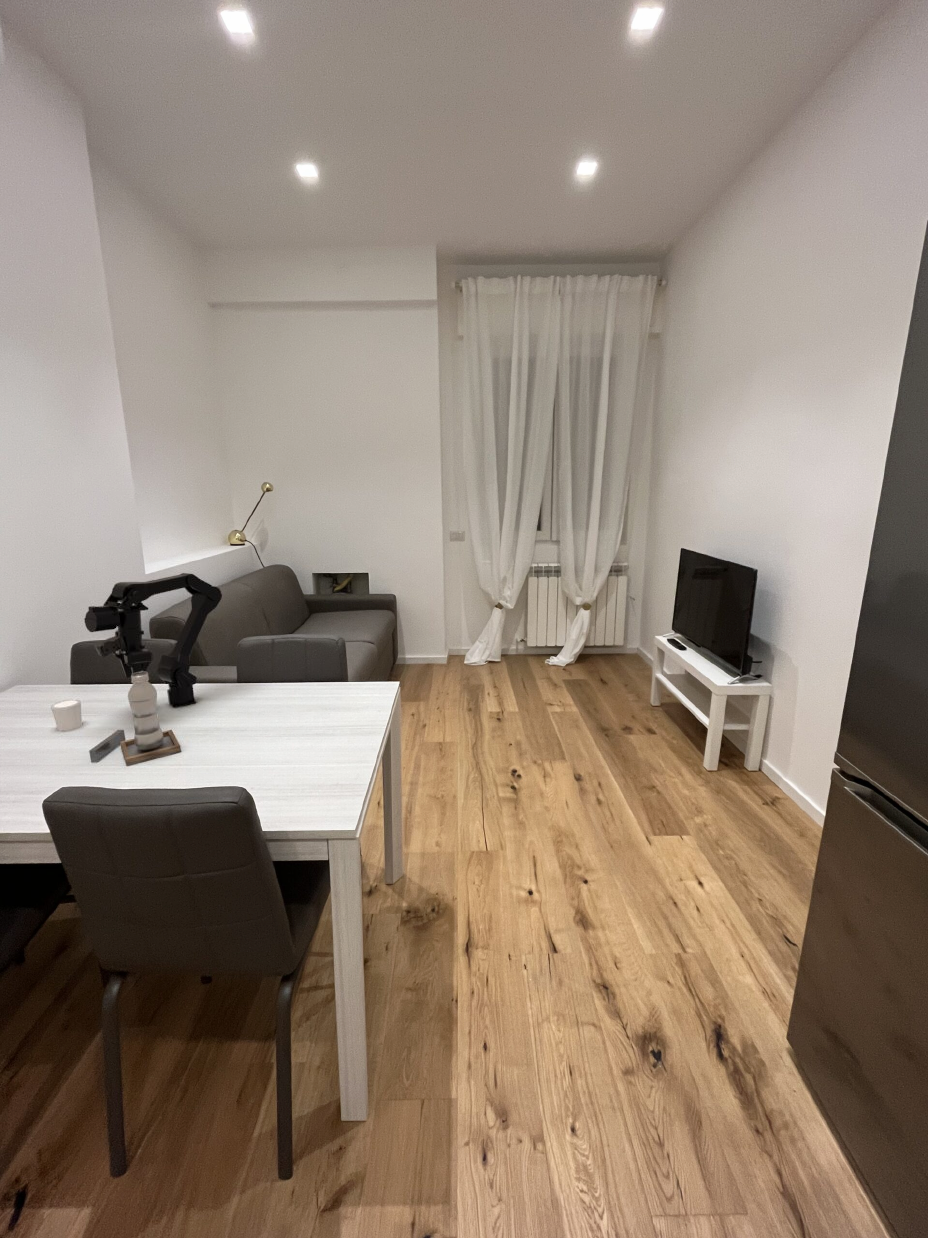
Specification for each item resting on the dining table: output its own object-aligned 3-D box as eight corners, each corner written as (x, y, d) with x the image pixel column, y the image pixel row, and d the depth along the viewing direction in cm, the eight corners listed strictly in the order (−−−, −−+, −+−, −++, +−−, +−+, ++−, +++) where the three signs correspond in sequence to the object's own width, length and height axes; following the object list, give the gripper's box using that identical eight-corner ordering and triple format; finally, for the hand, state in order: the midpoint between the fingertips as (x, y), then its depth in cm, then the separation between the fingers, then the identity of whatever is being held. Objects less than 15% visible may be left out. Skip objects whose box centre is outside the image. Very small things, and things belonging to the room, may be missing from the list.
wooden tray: (172, 735, 148) (171, 729, 148) (181, 751, 139) (180, 745, 139) (120, 747, 141) (119, 741, 141) (126, 766, 132) (125, 759, 132)
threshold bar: (119, 740, 146) (118, 729, 145) (125, 740, 146) (123, 729, 145) (91, 762, 134) (89, 750, 133) (97, 762, 134) (95, 750, 133)
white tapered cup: (69, 733, 150) (64, 709, 149) (48, 731, 152) (44, 707, 150) (90, 722, 157) (86, 700, 155) (70, 721, 158) (66, 698, 156)
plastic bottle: (168, 741, 144) (158, 668, 139) (159, 752, 137) (148, 677, 133) (141, 743, 143) (130, 670, 138) (131, 755, 136) (119, 679, 132)
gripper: (88, 625, 155) (92, 678, 157) (104, 635, 142) (108, 693, 144) (132, 621, 163) (135, 672, 165) (152, 631, 150) (154, 686, 152)
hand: (132, 680), depth 156 cm, fingers open, 9 cm apart
